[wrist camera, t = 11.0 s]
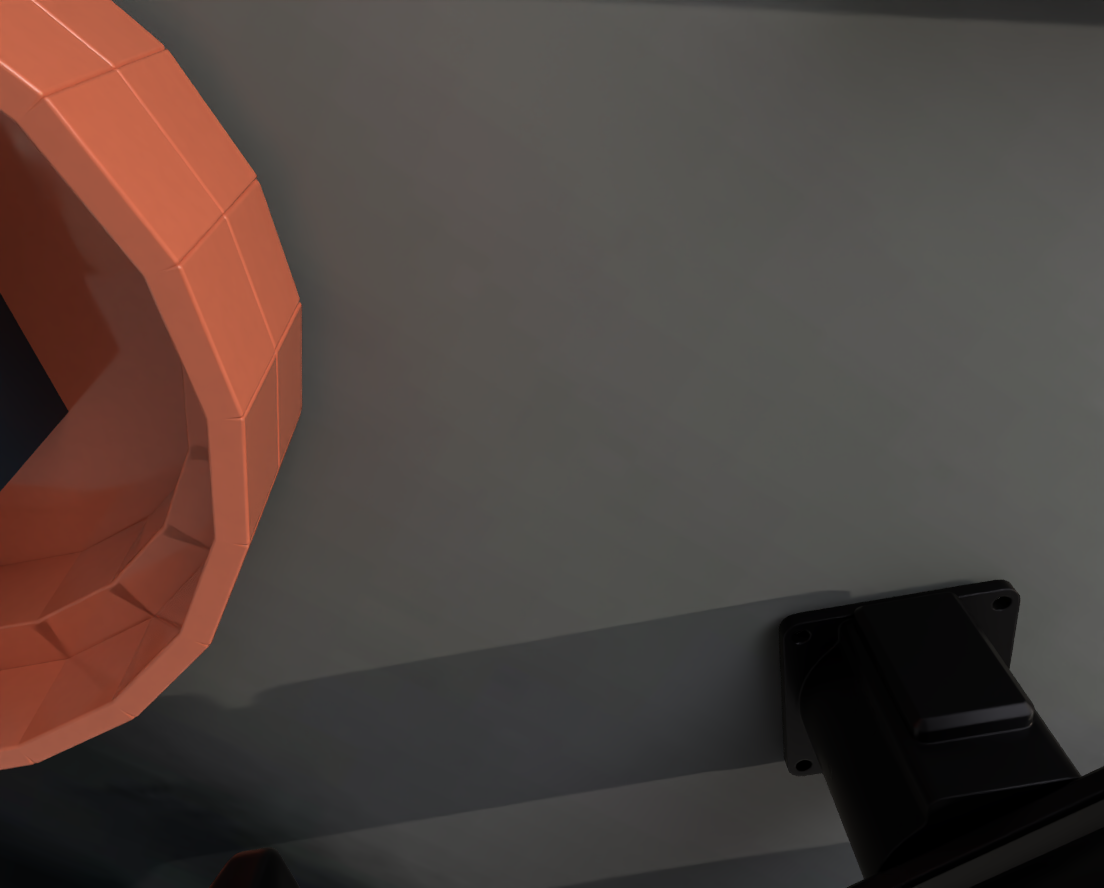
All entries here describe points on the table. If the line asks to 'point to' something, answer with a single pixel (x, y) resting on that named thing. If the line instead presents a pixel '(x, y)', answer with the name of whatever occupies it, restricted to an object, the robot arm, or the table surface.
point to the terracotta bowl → (129, 370)
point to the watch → (22, 398)
